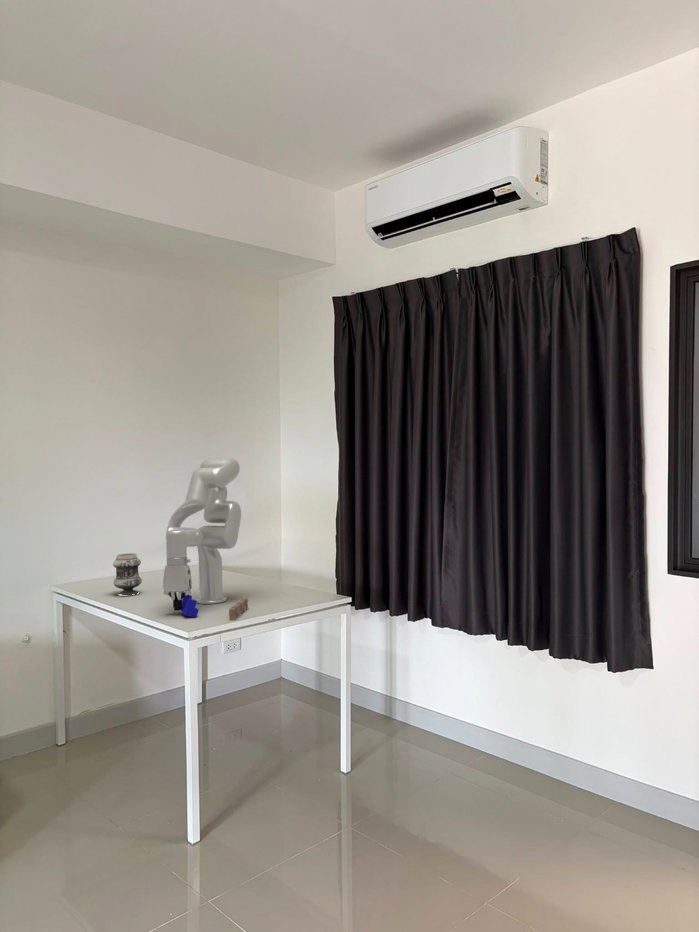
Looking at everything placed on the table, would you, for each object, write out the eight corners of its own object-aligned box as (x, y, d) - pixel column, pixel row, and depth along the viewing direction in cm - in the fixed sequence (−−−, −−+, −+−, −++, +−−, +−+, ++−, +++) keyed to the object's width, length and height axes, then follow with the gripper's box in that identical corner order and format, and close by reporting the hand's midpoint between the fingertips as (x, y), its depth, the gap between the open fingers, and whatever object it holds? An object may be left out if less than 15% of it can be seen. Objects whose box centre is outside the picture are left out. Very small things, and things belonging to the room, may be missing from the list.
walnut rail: (242, 608, 276) (242, 598, 276) (247, 608, 276) (247, 598, 276) (229, 620, 256) (229, 609, 256) (234, 620, 256) (234, 609, 256)
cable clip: (196, 617, 262) (200, 601, 262) (184, 615, 260) (189, 599, 261) (190, 611, 273) (195, 596, 273) (179, 609, 271) (184, 593, 272)
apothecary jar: (129, 590, 320) (128, 551, 320) (147, 593, 313) (146, 553, 313) (107, 595, 310) (106, 555, 309) (126, 598, 303) (125, 556, 303)
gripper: (198, 560, 270) (199, 607, 270) (161, 560, 272) (162, 607, 272) (192, 563, 263) (193, 611, 263) (154, 563, 265) (155, 611, 265)
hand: (177, 609), depth 267 cm, fingers closed
